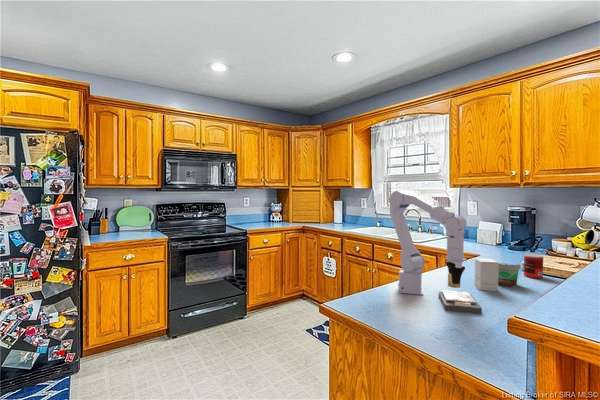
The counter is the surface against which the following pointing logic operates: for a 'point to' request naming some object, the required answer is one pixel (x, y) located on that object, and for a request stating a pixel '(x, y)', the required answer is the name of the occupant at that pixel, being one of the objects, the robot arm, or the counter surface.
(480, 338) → the counter surface
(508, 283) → the food container
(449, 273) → the cylinder
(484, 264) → the supplement box
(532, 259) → the canned food
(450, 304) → the scale
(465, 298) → the platform
